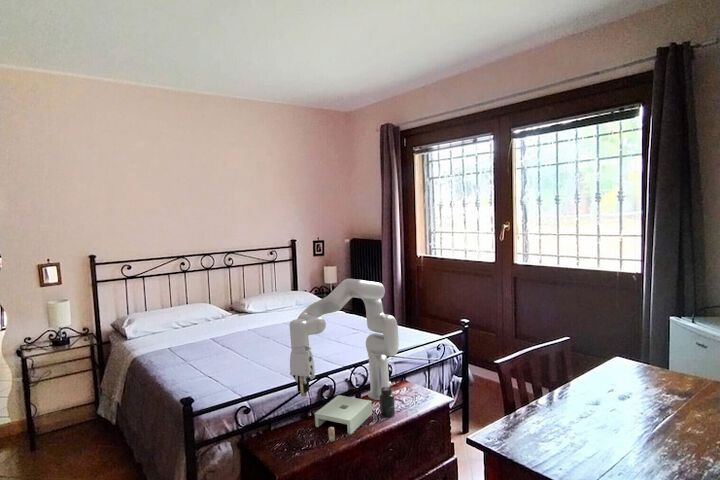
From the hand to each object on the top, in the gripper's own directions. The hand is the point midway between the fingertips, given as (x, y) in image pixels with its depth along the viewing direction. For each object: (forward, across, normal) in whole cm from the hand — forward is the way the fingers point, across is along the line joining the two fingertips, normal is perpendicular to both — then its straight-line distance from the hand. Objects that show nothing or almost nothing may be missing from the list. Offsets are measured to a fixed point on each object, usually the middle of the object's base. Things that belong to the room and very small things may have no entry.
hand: (303, 390), depth 184 cm
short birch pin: (+19, -13, 0) cm, 23 cm away
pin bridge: (+19, -9, -17) cm, 27 cm away
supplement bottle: (+19, -25, -29) cm, 43 cm away
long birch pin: (+2, 0, 0) cm, 2 cm away
